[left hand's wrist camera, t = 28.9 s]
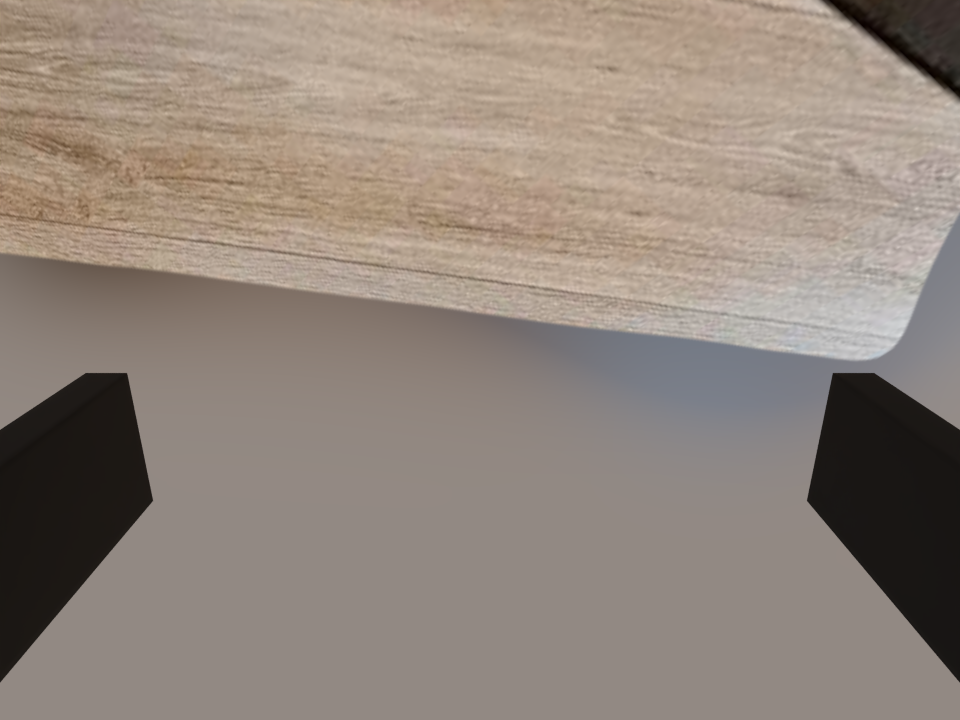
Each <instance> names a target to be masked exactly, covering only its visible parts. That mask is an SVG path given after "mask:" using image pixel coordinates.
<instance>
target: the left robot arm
mask: <svg viewBox="0 0 960 720" xmlns="http://www.w3.org/2000/svg"><path fill="white" fill-rule="evenodd" d="M152 501H153V498H152V493H151V489H150V484H149V479H148V474H147V469H146V464H145V459H144V454H143V449H142V444H141V439H140V434H139V429H138V425H137V420H136V415H135V410H134V405H133V400H132V395H131V390H130V385H129V380H128V375H127V373H85V374H84V375H82V376H81V377H79V378H78V379H76V380H75V381H73V382H72V383H70V384H69V385H67V386H66V387H64V388H63V389H61V390H60V391H58V392H57V393H55V394H54V395H52V396H51V397H49V398H48V399H46V400H45V401H43V402H42V403H40V404H39V405H37V406H36V407H34V408H33V409H31V410H29V411H28V412H27V413H25V414H23V415H22V416H20V417H19V418H17V419H16V420H15V421H13V422H11V423H10V424H8V425H7V426H5V427H4V428H2V429H1V430H0V682H1V681H2V680H3V678H4V677H5V676H6V675H7V674H8V673H9V671H10V670H11V669H12V668H13V667H14V665H15V664H16V663H17V662H18V661H19V659H20V658H21V657H22V656H23V655H24V653H25V652H26V651H27V650H28V649H29V648H30V646H31V645H32V644H33V643H34V642H35V640H36V639H37V638H38V637H39V636H40V634H41V633H42V632H43V631H44V630H45V629H46V627H47V626H48V625H49V624H50V623H51V621H52V620H53V619H54V618H55V617H56V615H57V614H58V613H59V612H60V611H61V610H62V608H63V607H64V606H65V605H66V604H67V602H68V601H69V600H70V599H71V598H72V596H73V595H74V594H75V593H76V592H77V591H78V589H79V588H80V587H81V586H82V585H83V583H84V582H85V581H86V580H87V578H88V577H89V576H90V575H91V574H92V573H93V571H94V570H95V569H96V568H97V567H98V566H99V564H100V563H101V562H102V561H103V560H104V558H105V557H106V556H107V555H108V554H109V552H110V551H111V550H112V549H113V548H114V546H115V545H116V544H117V543H118V542H119V541H120V539H121V538H122V537H123V536H124V535H125V533H126V532H127V531H128V530H129V529H130V527H131V526H132V525H133V524H134V523H135V522H136V520H137V519H138V518H139V517H140V516H141V514H142V513H143V512H144V511H145V510H146V508H147V507H148V506H149V505H150V504H151V503H152ZM807 501H808V502H809V504H810V505H811V506H812V507H813V508H814V510H815V511H816V512H817V513H818V514H819V516H820V517H821V518H822V519H823V520H824V522H825V523H826V524H827V525H828V526H829V527H830V529H831V530H832V531H833V532H834V533H835V535H836V536H837V537H838V538H839V539H840V541H841V542H842V543H843V544H844V545H845V547H846V548H847V549H848V550H849V551H850V552H851V554H852V555H853V556H854V557H855V558H856V560H857V561H858V562H859V563H860V564H861V565H862V567H863V568H864V569H865V570H866V571H867V573H868V574H869V575H870V576H871V577H872V579H873V580H874V581H875V582H876V583H877V585H878V586H879V587H880V588H881V589H882V590H883V592H884V593H885V594H886V595H887V596H888V598H889V599H890V600H891V601H892V602H893V603H894V605H895V606H896V607H897V608H898V609H899V611H900V612H901V613H902V614H903V615H904V617H905V618H906V619H907V620H908V621H909V623H910V624H911V625H912V626H913V627H914V629H915V630H916V631H917V632H918V633H919V634H920V636H921V637H922V638H923V639H924V640H925V642H926V643H927V644H928V645H929V646H930V648H931V649H932V650H933V651H934V652H935V653H936V655H937V656H938V657H939V658H940V659H941V661H942V662H943V663H944V664H945V665H946V667H947V668H948V669H949V670H950V671H951V673H952V674H953V675H954V676H955V677H956V678H957V680H958V681H959V682H960V430H959V429H958V428H956V427H955V426H953V425H952V424H950V423H949V422H947V421H946V420H944V419H943V418H941V417H939V416H938V415H937V414H935V413H934V412H932V411H931V410H929V409H927V408H926V407H924V406H923V405H921V404H920V403H918V402H917V401H915V400H914V399H912V398H911V397H909V396H908V395H906V394H905V393H903V392H902V391H900V390H899V389H897V388H896V387H894V386H893V385H891V384H890V383H888V382H887V381H885V380H884V379H882V378H881V377H879V376H878V375H876V374H875V373H833V375H832V380H831V385H830V390H829V395H828V400H827V405H826V410H825V415H824V420H823V425H822V430H821V435H820V439H819V444H818V449H817V454H816V459H815V464H814V469H813V474H812V479H811V484H810V488H809V493H808V498H807Z"/></svg>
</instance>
